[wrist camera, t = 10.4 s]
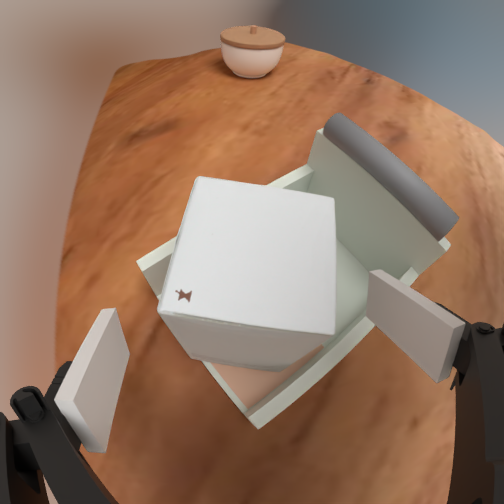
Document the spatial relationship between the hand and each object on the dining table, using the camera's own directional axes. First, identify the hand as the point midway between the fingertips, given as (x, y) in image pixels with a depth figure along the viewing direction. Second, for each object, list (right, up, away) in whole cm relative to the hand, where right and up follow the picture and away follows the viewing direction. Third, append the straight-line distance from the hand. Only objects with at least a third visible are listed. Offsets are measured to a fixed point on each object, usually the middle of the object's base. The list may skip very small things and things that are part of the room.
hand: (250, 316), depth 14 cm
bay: (+3, -1, +12) cm, 12 cm away
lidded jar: (0, +35, +32) cm, 47 cm away
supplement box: (-1, -3, +10) cm, 10 cm away
